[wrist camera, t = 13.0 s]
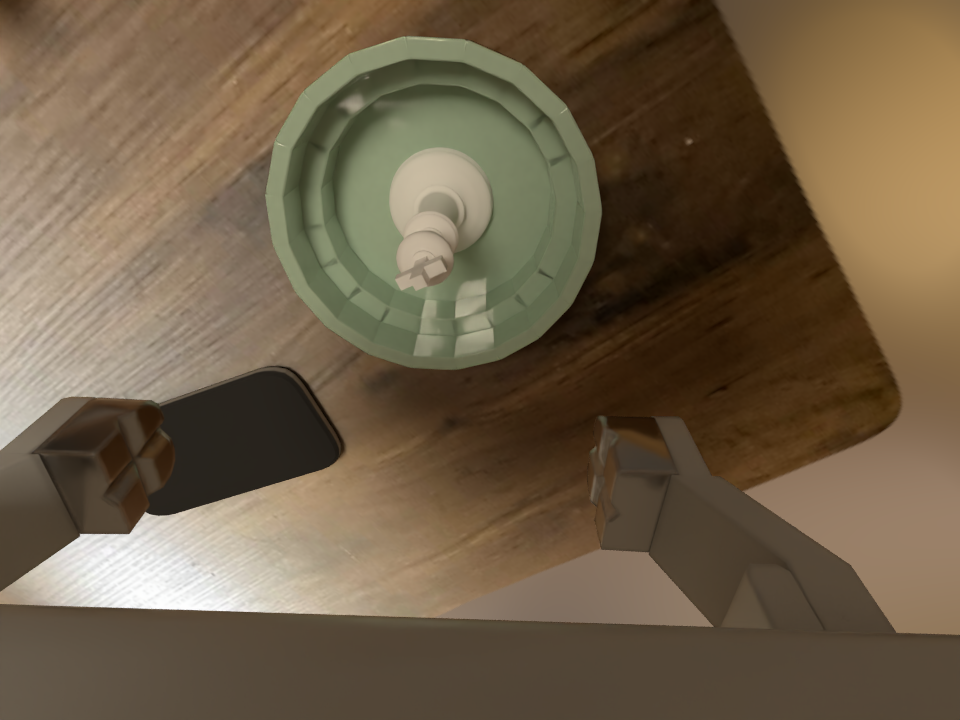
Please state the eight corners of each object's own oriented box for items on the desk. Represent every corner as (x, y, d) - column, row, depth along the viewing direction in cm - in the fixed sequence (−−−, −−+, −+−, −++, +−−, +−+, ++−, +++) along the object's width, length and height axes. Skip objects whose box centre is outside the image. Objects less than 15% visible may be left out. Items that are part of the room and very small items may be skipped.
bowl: (409, -42, 21) (389, -63, 17) (640, 177, 26) (671, 204, 21) (254, 218, 27) (209, 252, 23) (466, 364, 31) (463, 417, 27)
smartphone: (69, 439, 33) (283, 365, 30) (78, 430, 34) (288, 357, 31) (150, 522, 36) (348, 463, 34) (157, 513, 37) (351, 454, 34)
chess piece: (370, 175, 25) (309, 244, 17) (466, 128, 24) (455, 175, 15) (419, 266, 27) (388, 370, 19) (509, 227, 26) (520, 318, 18)
